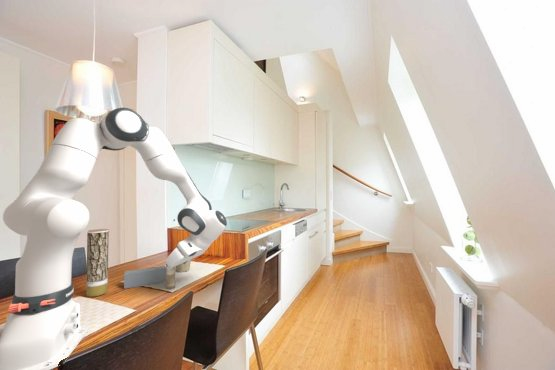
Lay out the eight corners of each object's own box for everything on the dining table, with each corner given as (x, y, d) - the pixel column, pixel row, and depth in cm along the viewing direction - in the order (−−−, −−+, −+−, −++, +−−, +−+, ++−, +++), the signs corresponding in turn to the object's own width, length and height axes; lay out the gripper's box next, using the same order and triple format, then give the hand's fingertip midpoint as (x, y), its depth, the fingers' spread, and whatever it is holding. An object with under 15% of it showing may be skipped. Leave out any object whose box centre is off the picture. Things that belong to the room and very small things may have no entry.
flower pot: (193, 272, 123) (193, 254, 124) (172, 274, 120) (172, 256, 120) (192, 266, 132) (192, 250, 132) (173, 268, 129) (173, 252, 129)
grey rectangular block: (165, 278, 114) (165, 265, 114) (166, 281, 110) (166, 268, 110) (124, 285, 106) (124, 271, 106) (124, 288, 102) (124, 274, 102)
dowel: (175, 288, 103) (176, 259, 103) (166, 289, 101) (166, 260, 102) (174, 285, 106) (175, 257, 107) (165, 286, 105) (165, 258, 105)
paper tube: (96, 298, 93) (97, 232, 94) (81, 296, 95) (82, 231, 95) (111, 291, 100) (112, 229, 100) (97, 289, 101) (98, 228, 102)
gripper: (206, 233, 112) (187, 254, 114) (176, 243, 92) (154, 267, 94) (215, 244, 110) (195, 264, 113) (186, 256, 91) (163, 280, 93)
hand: (176, 266), depth 103 cm, fingers open, 8 cm apart
